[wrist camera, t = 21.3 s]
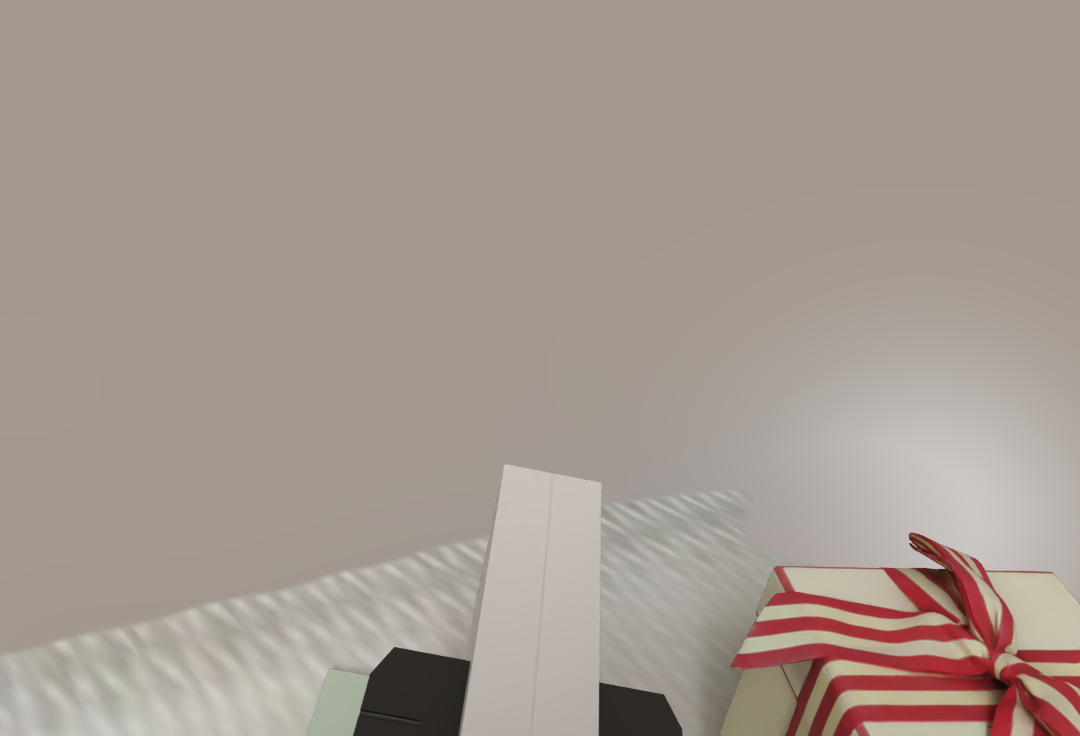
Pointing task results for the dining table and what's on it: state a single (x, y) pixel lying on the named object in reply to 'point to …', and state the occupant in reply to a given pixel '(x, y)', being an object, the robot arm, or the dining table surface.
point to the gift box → (910, 653)
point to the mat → (338, 704)
